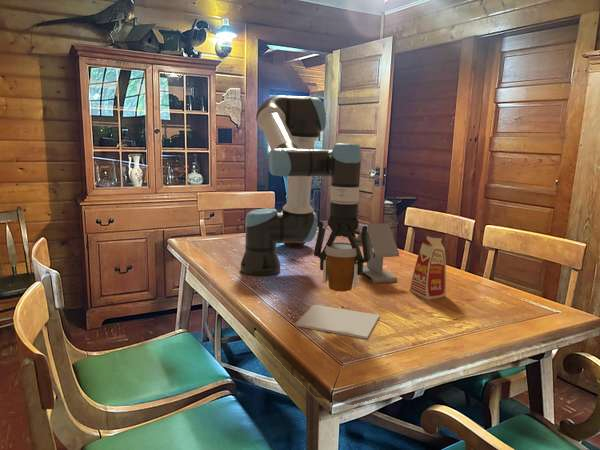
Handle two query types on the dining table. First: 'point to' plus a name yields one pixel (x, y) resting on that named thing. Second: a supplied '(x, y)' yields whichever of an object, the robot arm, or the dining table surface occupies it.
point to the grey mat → (338, 321)
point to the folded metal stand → (379, 252)
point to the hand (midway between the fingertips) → (340, 283)
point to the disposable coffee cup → (340, 266)
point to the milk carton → (430, 270)
